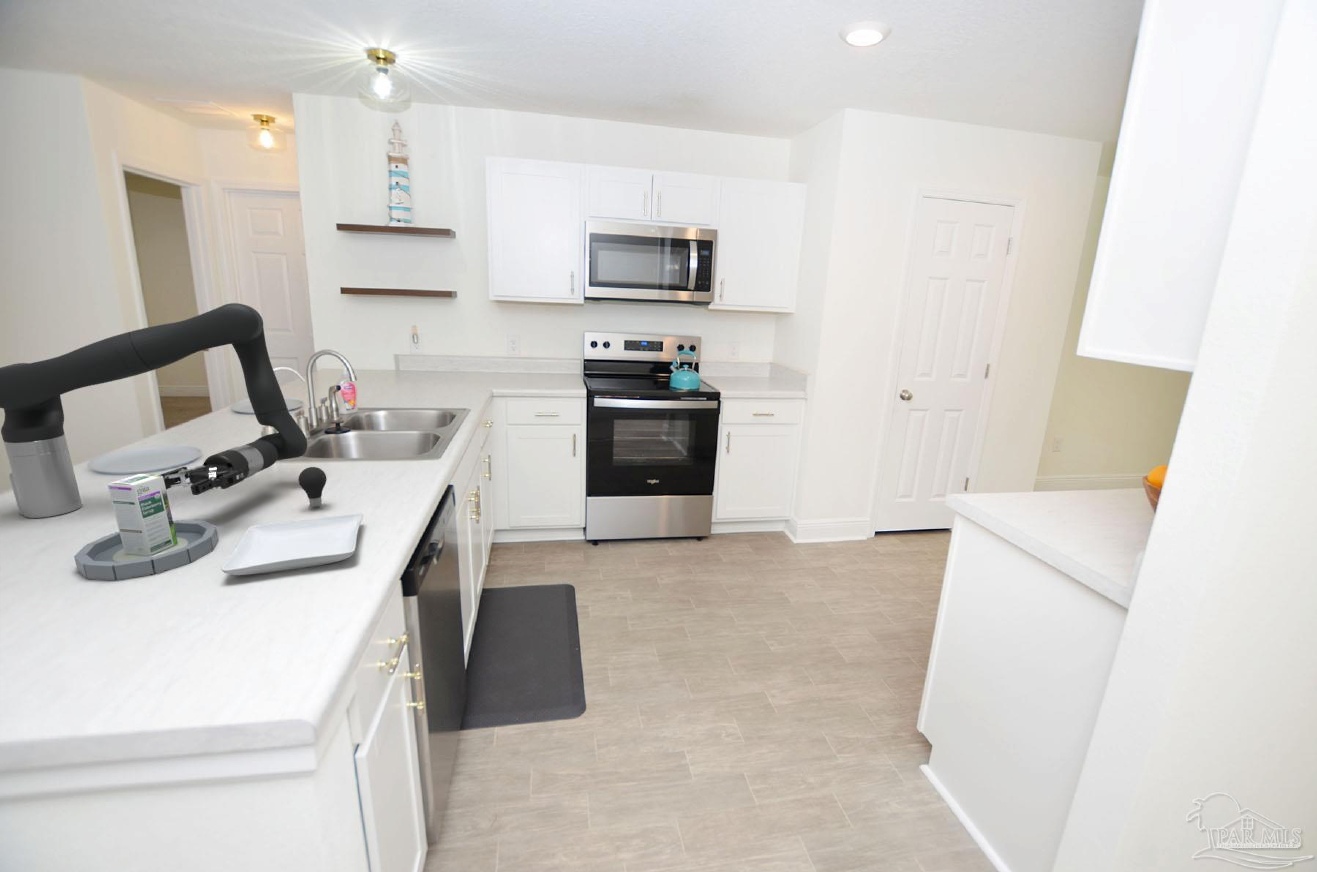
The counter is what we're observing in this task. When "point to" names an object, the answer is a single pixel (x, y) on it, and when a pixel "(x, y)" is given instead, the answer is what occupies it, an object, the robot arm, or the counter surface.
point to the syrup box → (143, 514)
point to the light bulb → (313, 484)
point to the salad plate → (294, 544)
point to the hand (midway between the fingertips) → (172, 489)
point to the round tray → (115, 564)
